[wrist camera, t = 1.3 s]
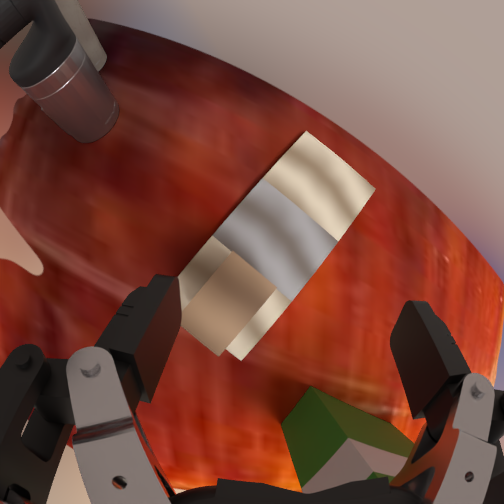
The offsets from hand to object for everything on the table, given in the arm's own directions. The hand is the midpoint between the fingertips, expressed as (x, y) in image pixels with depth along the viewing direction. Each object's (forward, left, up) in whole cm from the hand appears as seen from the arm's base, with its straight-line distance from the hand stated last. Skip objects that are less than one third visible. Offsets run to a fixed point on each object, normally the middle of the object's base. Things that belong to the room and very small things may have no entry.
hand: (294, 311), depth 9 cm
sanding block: (-3, -2, -26) cm, 26 cm away
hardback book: (+17, -19, -28) cm, 38 cm away
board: (+2, +7, -27) cm, 28 cm away
